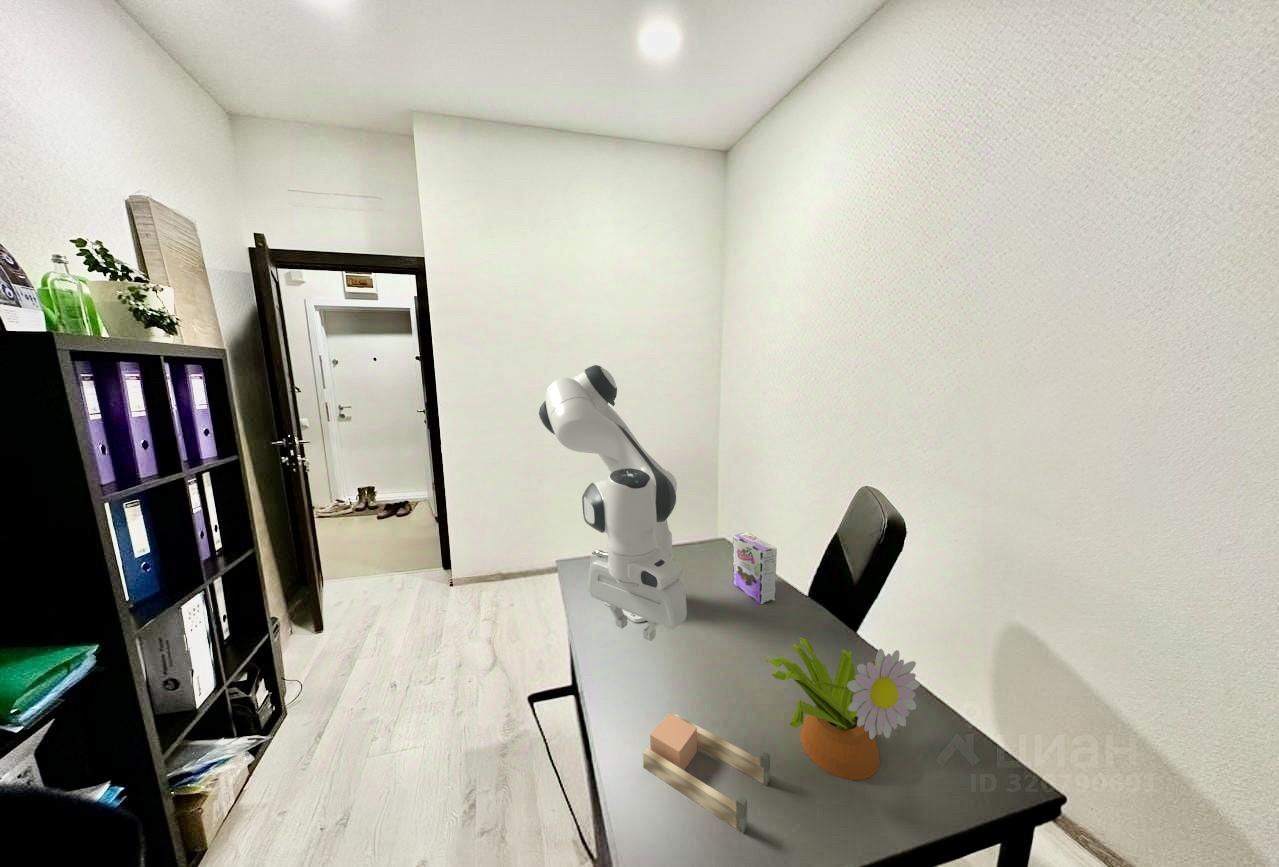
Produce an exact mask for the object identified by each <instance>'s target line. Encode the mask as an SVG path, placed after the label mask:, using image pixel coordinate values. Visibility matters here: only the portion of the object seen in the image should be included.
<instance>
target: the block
mask: <svg viewBox="0 0 1279 867" xmlns="http://www.w3.org/2000/svg"><path fill="white" fill-rule="evenodd" d="M674 715H675V714H674ZM674 715H673V714H672V713H669V712H668V713H667V714H666V715H665V716H664V718H663V719H662V720H661V721H660V723H659V724H658V725H657V726H656V728H654V730H653V731H652V732H651V733H650V735H649V736H650V737H649V738H650V739H649V740H650V750H652V751H653V752H655V753H657V754H658V755H660V756H661V757H663V758H665V759H666V760H668V761H669V762H671V763H673V764H674V765H676V766H677V767H679V768H681V769H682V770H684V771H685V770H686V769H687V767H688V765H689V764H690V763H691V761H692V760H693V758H694V757H695V755H696V754H697V752H698V746H697V728H696V727H694V726H692V725H691V724H689V723H687V722H685V721H683V720H681V719H679V718H677V717H676V716H674Z"/></svg>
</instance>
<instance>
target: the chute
mask: <svg viewBox="0 0 1279 867" xmlns="http://www.w3.org/2000/svg"><path fill="white" fill-rule="evenodd" d="M674 716H676V717H677V718H679V719H681V720H683V721H685V722H687V723H689V724H691V725H692V726H694V727H696V728H697V748H699V749H701V750H703V751H705V752H706V753H708V754H710V755H712V756H713V757H716V758H717V759H719V760H721V761H722V762H724V763H726V764H728V765H730V766H731V767H733V768H735V769H736V770H738V771H740V772H741V773H743V774H746V775H747V776H749V777H750V778H753V779H754V780H756V781H757V782H759V783H761V784H762V785H763V786H768V784H769V782H770V780H771V778H770V776H771V773H770V771H771V754H770V753H769V752H766V751H765V750H762V751H761V754H760V756H759V758H758V757H756V756H754V755H752V754H750V753H749V752H746V751H745V750H743V749H742V748H740V747H738V746H735V745H734V744H731V743H730V742H728V741H726V740H725V739H722V738H721V737H720V736H718V735H715V734H713V733H712V732H710V731H708V730H706V729H704V728H703V727H701V726H698V725H696V723H694V722H692V721H689V720H687V719H686V718H684V717H682V716H680V715H678V714H676V713H675V714H674ZM642 757H643V760H642V762H643V764H642V765H643V769H645V770H647V771H648V772H649V773H651V774H653V775H654V776H655V777H657V778H659V779H660V780H661V781H663V782H664V783H666V784H667V785H669V786H671V787H672V788H673V789H675V790H677V791H678V792H680V793H681V794H683V795H685V797H687V798H689V799H690V800H692V801H693V802H695V803H696V804H698V805H700V806H701V807H703V808H704V809H705V810H707V811H709V812H710V813H712V814H713V815H714V816H716V817H717V818H719V819H720V820H722V821H724V822H725V823H727V825H728V824H729V825H730V826H732V827H733V828H734V829H736V830H737V831H739V832H740V833H742V834H745V832H746V830H747V826H748V798H747V797H745V796H744V795H742V794H740V793H739V794H738V797H737V798H736V800H735V801H734V800H732V799H730V798H729V797H727V796H726V795H724V794H722V793H721V792H719V791H717V790H716V789H714V788H713V787H711V786H709V785H708V784H707V783H705V782H704V781H701V780H700V779H698V778H697V777H695V776H694V775H692V774H691V773H689V772H687V771H685V770H682V769H681V768H679V767H677V766H676V765H674V764H673V763H671V762H669V761H668V760H666V759H665V758H663V757H661V756H660V755H658V754H657V753H655V752H653V751H652V750H651V748H649V747H646V749H644V751H643V753H642Z"/></svg>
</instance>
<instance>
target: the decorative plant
mask: <svg viewBox="0 0 1279 867" xmlns="http://www.w3.org/2000/svg"><path fill="white" fill-rule="evenodd" d="M798 638H799V642H800V645H802V646H803V647H804V648H805V650H806V651H807V652H808V653H807V652H806V651H805V650H804V648H802V646H800V645H798V644H794V643H793V644H792V643H791V644H790V645H791V646H792V647H793V649H794V651H795V652H796V653H797V654H798V655H799V657H800V658H801V659H802V661H803V662H804V664H805V666H806V669H807V671H808V673H809V675H810V678H811V679H810V678H809V677H808V675H807V674H806V673H805V672H804V671H803V670H802V669H801V667H800V666H799V664H797V663H796V662H793V661H791V660H789V659H787V658H785V657H775V658H771V659H767V658H765V661H766V662H769V663H770V664H772V665H773V666H775V667H777V668H778V667H780V666H781V665H783V666H784V667H785V668H786V669H787V670H788V671H786V672H784V671H782V670H774V671H772V674H771V676H773V678H774V679H776V680H781V681H786V680H788V679H792V680H794V682H796V683H797V684H798V685H799V686H800V687H801V688H802V689H803V691H804V692H805V693H806V694H807V696H808V697H809V699H810V700H812V702H813V703H814V704H815V705H812V704H810V703H807V702H805V701H802V700H800V699H799V700H798V702H797V703H798V704H797V707H796V711H795V712H794V714H793V716H792V719H791V722H790V723H789V726H792V727H793V728H794V729H797V728H799V727H800V726H801V730H800V735H799V738H800V742H801V743H800V744H801V746H802V747H803V750H804V752H805V753H806V754H807V756H808V757H809V758H810V759H811V761H812V762H813V763H814V764H816V765H817V767H819V768H820V769H822V770H824V771H825V772H827V773H829V774H831V775H833V776H835V777H837V778H841V779H844V780H845V779H846V780H850V781H856V780H857V781H860V780H865V779H868V778H870V777H872V776H873V775H875V773H877V771H878V770H879V767H880V762H881V761H880V759H881V758H880V753H879V749H878V748H879V747H878V741H877V739H876V735H877V734H878V735H880V736H881V735H882V734H883V735H884V737H885V738H886V739H889V738H890V737H891V733H892V728H893V729H894V730H896V729H897V728H898V725H899V726H900V727H901V726H902V727H906V725H907V718H906V717H908V716H909V715H910V712H909V710H910V711H911V710H912V711H913V710H916V709H917V704H916V702H915V700H914V698H915V697H916V693H915V692H914V690H916V689H918V688H919V687H920V685H921V684H920V682H919V681H918V680H917V679H915V678H916V677H917V675H916V673H913V670H914V669H915V667H916V664H917V662H916V661H913V660H912V661H911V660H910V661H909V662H906V663H905V660H904V659H900V651H899V649H897V650H895V651H894V652H893V653H892V654H891V653H887V654H886V655H885V651H884V650H883V648H879V649H878V650H877V653H876V654H875V655H876V656H875V661H872V662H871V661H868V662H867V663H866V664H863V663H859V664H857V666H856V671H857V672H858V673H857V674H856V671H855V667H854V663H853V662H854V661H853V658H852V652H851V650H844V649H841V651H840V652H841V655H840V660H839V663H838V667H837V671H836V674H835V679H834V682H833V681H832V678H831V677H830V675H829V672H828V670H827V667H826V665H825V664H824V663H823V662H821V660H819V658H818V657H817V656H816V654H815V653H814V650H813V647H812V646H811V643H810V640H808V639H806V638H803V637H798ZM808 654H809V655H810V656H811V657H810V656H809V655H808ZM804 714H806V716H805V718H804Z"/></svg>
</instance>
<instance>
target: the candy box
mask: <svg viewBox="0 0 1279 867" xmlns="http://www.w3.org/2000/svg"><path fill="white" fill-rule="evenodd" d="M732 536H733V537H732V538H733V539H732V543H733V544H732V584H733V585H734V586H735V587H736V588H738V589H739V590H741V591H742V592H744V593H745V595H746V596H749V598H751V599H753V601H755V602H756V603H758V604H759V605H763V604H768V603H771V602H776V585H777V584H776V580H777V577H776V576H777V553H778V552H777V551H778V548H777V547H775V546H773V545H772V544H769V543H768V542H766V541H764V540H762V539H760V538H759V537H757V536H755V535H754V534H752V533H750V532H748V531H746V532H742V533H738V534H733V535H732Z"/></svg>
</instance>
